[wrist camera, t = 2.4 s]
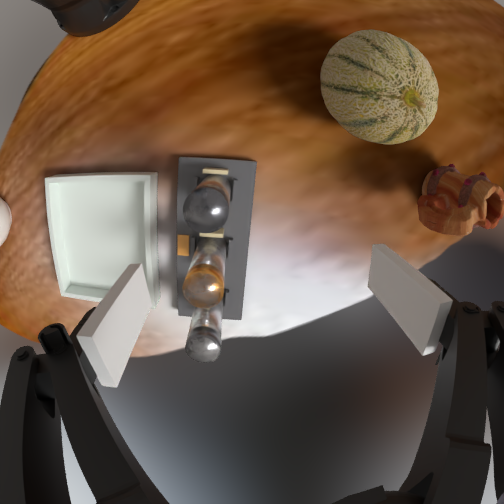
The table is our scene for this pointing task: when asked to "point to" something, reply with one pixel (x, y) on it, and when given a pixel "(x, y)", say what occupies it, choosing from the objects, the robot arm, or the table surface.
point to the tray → (102, 230)
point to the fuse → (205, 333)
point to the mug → (459, 202)
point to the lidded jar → (4, 220)
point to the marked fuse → (206, 273)
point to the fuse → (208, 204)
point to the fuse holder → (231, 232)
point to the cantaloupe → (379, 87)
